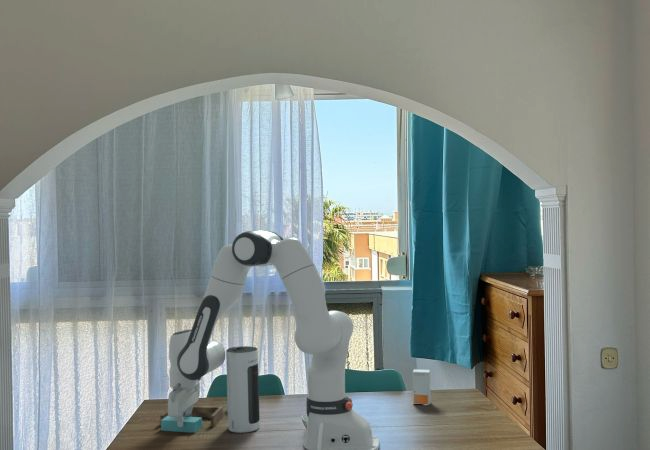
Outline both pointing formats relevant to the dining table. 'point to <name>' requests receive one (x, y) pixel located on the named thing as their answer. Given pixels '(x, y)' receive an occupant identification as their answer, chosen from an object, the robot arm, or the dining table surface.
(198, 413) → the walnut box
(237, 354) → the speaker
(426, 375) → the skincare box
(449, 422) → the dining table surface
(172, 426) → the turquoise rectangular block
